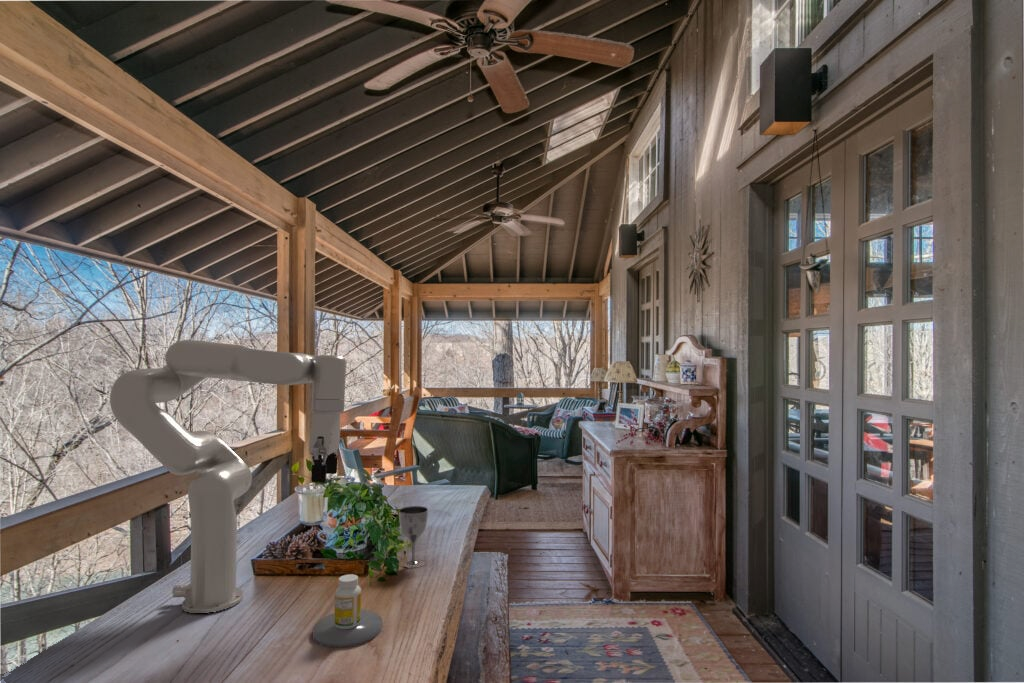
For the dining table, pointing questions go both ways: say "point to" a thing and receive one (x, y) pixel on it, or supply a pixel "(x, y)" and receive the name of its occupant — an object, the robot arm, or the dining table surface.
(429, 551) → the dining table surface
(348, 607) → the supplement bottle
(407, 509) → the wine glass
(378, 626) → the smooth grey river stone
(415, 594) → the dining table surface
